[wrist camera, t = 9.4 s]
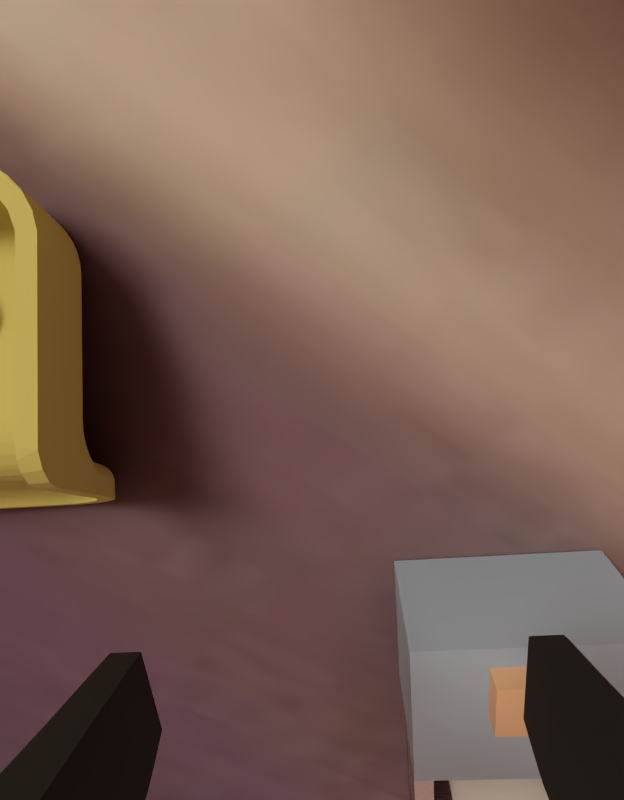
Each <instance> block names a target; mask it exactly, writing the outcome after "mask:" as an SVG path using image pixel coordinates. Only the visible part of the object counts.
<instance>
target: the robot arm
mask: <svg viewBox="0 0 624 800" xmlns="http://www.w3.org/2000/svg"><path fill="white" fill-rule="evenodd" d="M523 719H524V722H525V726H526V729H527V733H528V736H529V740H530V743H531V747H532V750H533V753H534V757H535V760H536V763H537V767H538V770H539V773H540V776H541V780H542V783H543V786H544V788H545V791H546V793H547V796H548V798H549V800H624V697H623V696H622V695H621V694H620V693H619V692H618V691H617V690H616V689H615V688H614V687H613V686H612V685H611V684H610V683H609V682H608V680H607V679H606V678H605V677H604V676H603V675H602V674H601V673H600V672H599V671H598V670H597V669H596V668H595V667H594V666H593V665H592V663H591V662H590V661H589V660H588V659H587V658H586V657H585V656H584V655H583V654H582V653H581V652H580V651H579V649H578V648H577V647H576V646H575V645H574V644H573V643H572V642H571V641H570V640H569V639H568V638H567V637H566V636H565V635H543V636H529V640H528V655H527V671H526V686H525V702H524V717H523ZM161 731H162V728H161V724H160V720H159V717H158V713H157V709H156V706H155V702H154V698H153V695H152V691H151V687H150V684H149V680H148V676H147V672H146V669H145V665H144V661H143V658H142V654H141V652H129V653H110V654H109V655H108V656H107V657H106V658H105V659H104V661H103V662H102V663H101V664H100V665H99V666H98V667H97V668H96V669H95V670H94V671H93V672H92V674H91V675H90V676H89V677H88V678H87V679H86V680H85V681H84V682H83V684H82V685H81V686H80V687H79V688H78V689H77V690H76V691H75V692H74V694H73V695H72V696H71V697H70V698H69V699H68V700H67V701H66V703H65V704H64V705H63V706H62V707H61V708H60V709H59V710H58V711H57V713H56V714H55V715H54V716H53V717H52V718H51V719H50V720H49V721H48V723H47V724H46V725H45V726H44V727H43V728H42V729H41V730H40V731H39V732H38V733H37V735H36V736H35V737H34V738H33V739H32V740H31V741H30V742H29V743H28V744H27V745H26V746H25V747H24V749H23V750H22V751H21V752H20V753H19V754H18V755H17V756H16V757H15V758H14V759H13V760H12V762H11V763H10V764H9V765H8V766H7V767H6V768H5V769H4V770H3V771H2V772H1V773H0V800H145V798H146V795H147V792H148V788H149V784H150V780H151V776H152V772H153V768H154V763H155V759H156V754H157V750H158V745H159V741H160V736H161Z"/></svg>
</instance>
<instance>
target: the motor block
mask: <svg viewBox="0 0 624 800" xmlns="http://www.w3.org/2000/svg"><path fill="white" fill-rule="evenodd" d="M394 572H395V593H396V614H397V635H398V656H399V675H400V682H401V689H402V696H403V703H404V710H405V717H406V725H407V732H408V739H409V746H410V753H411V760H412V767H413V774H414V781H445V780H491V779H537V778H541V776H540V773H539V770H538V767H537V763H536V760H535V757H534V753H533V750H532V747H531V743H530V740H529V736H528V733H527V729H526V726H525V722H524V719H523V717H524V702H525V686H526V671H527V655H528V640H529V636H543V635H565V636H566V637H567V638H568V639H569V640H570V641H571V642H572V643H573V644H574V645H575V646H576V647H577V648H578V649H579V651H580V652H581V653H582V654H583V655H584V656H585V657H586V658H587V659H588V660H589V661H590V662H591V663H592V665H593V666H594V667H595V668H596V669H597V670H598V671H599V672H600V673H601V674H602V675H603V676H604V677H605V678H606V679H607V680H608V682H609V683H610V684H611V685H612V686H613V687H614V688H615V689H616V690H617V691H618V692H619V693H620V694H621V695H622V696H623V697H624V578H623V577H622V576H621V574H620V573H619V572H618V571H617V569H616V568H615V567H614V566H613V564H612V563H611V562H610V561H609V559H608V558H607V557H606V555H605V554H604V553H603V552H602V550H596V551H577V552H558V553H538V554H519V555H500V556H481V557H461V558H442V559H423V560H404V561H394Z"/></svg>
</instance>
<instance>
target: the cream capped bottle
mask: <svg viewBox="0 0 624 800" xmlns="http://www.w3.org/2000/svg"><path fill="white" fill-rule="evenodd" d="M449 784H450V789H451V794H452V800H549V798H548V796H547V793H546V791H545V788H544V786H543V783H542V780H541V778H537V779H491V780H449Z"/></svg>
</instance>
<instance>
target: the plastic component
mask: <svg viewBox="0 0 624 800" xmlns="http://www.w3.org/2000/svg"><path fill="white" fill-rule="evenodd" d="M114 499H115V479H114V476H113V474H112V472H111V471H110V470H109V469H108V468H107V467H105V466H103V465H101V464H98V463H95V462H93V461H92V459H91V458H90V455H89V452H88V449H87V446H86V442H85V437H84V431H83V387H82V287H81V266H80V261H79V257H78V253H77V250H76V248H75V245H74V243H73V241H72V240H71V238H70V237H69V235H68V234H67V232H66V231H65V230H64V229H63V227H62V226H61V225H60V224H59V223H58V222H57V221H55V220H54V219H53V218H52V217H51V216H50V215H49V214H48V213H47V212H46V211H45V210H44V209H43V208H42V207H40V206H39V205H38V204H37V203H36V202H35V201H34V200H33V199H32V198H31V197H30V196H29V195H28V194H27V193H26V192H24V191H23V190H22V189H21V188H20V187H19V186H18V185H17V184H16V183H15V182H14V181H13V180H12V179H11V178H10V177H8V176H7V175H6V174H5V173H3V172H2V171H0V509H9V508H27V507H45V506H63V505H81V504H92V503H101V502H108V501H112V500H114Z"/></svg>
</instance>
